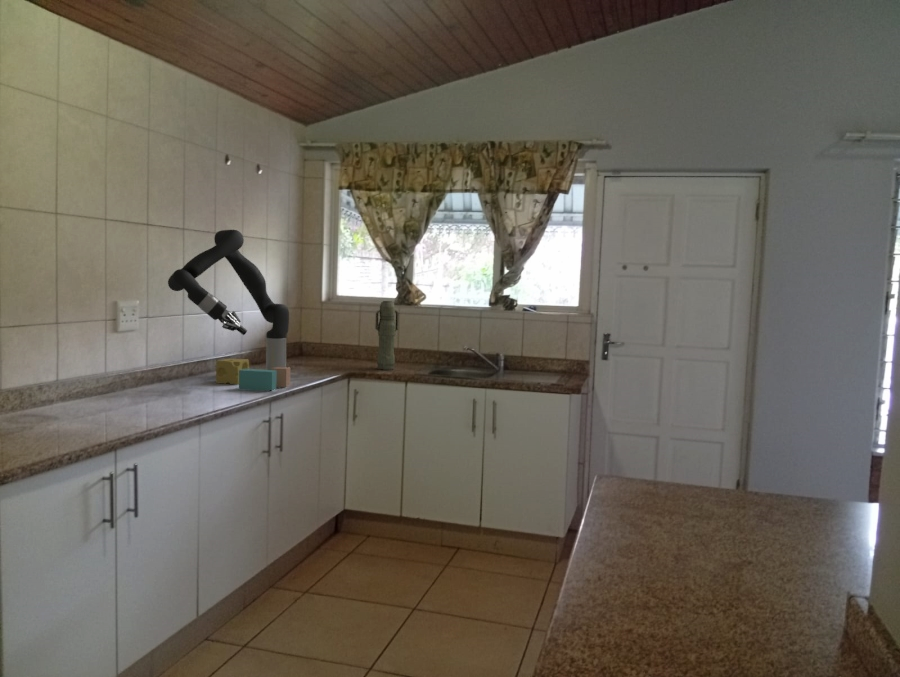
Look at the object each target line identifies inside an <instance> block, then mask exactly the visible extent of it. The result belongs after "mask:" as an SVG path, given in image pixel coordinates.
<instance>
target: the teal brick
mask: <svg viewBox="0 0 900 677" xmlns="http://www.w3.org/2000/svg"><path fill="white" fill-rule="evenodd" d="M276 382H277V370H266V369H257V368H256V369H255V368H249V369H242V370H239V384H238V390H239V389H250V390H249V391H258V390H274V389H276V390H277V388H276ZM274 391H275V390H274Z"/></svg>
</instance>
